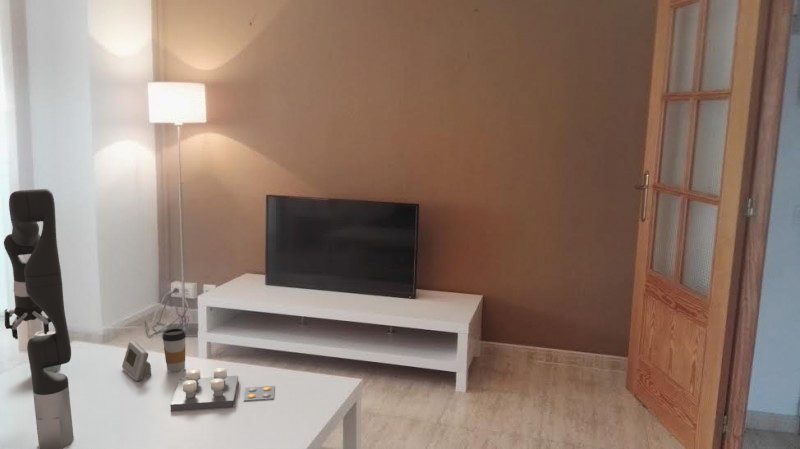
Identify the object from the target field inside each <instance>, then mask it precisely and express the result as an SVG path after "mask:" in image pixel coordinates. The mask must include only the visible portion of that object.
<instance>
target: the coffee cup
mask: <svg viewBox="0 0 800 449" xmlns="http://www.w3.org/2000/svg"><path fill="white" fill-rule="evenodd" d="M186 337H187V336H186V332H185V329H183V328H179V327H177V328H176V327H175V328H169V329H166V330H164V331H163V334H162V340H163V350H164V358H165V359H164V360H165V364H166V370H167V372H169V373H172V374H173V373H181V372H182V371H184V370H185V368H186Z"/></svg>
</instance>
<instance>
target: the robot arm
mask: <svg viewBox="0 0 800 449" xmlns="http://www.w3.org/2000/svg"><path fill="white" fill-rule="evenodd" d="M8 199H9V200H8V209H9V215H10V221H11V225H12V231H11V233H10V234H7V235H6V236H5V238H4V239H3V246H4V249H5V251H6V254H7V256H8V258H9V260H10V263H11V267H12V274H13V294H14V295H13V296H14V306H15V307H14V309H10V310H9V309H8V308H6V309H4V310H3V311H4V327H5V329H6V330H9V329H11V334H12V338H13V339H15V340H18V339H19V336H18V334H19V333H18V327H19V325H21V324H22V322H28V321H35V320H36V319H38V320H39V321H41V322H42V326H43V331H44V334H47V332H49V330H50V328H49V326H50V325H49V324H50V323H51V324H52V325H53V327H54V329H55V334H50V335H44V336H39V337H34V338H33V337H31V338H29V340H28V341H27V345H26V346H27V347H26V349H27V357H28V362H29V368H30V375H31V383H32V394H33V403H34V404H33V405H34V414H35V424H36V432H37V440H38V441H37V443H38V447H39V449H64V448H65V447H66V446H68V445H70V444H71V443H72V442H73V441H74V438H75V437H74V436H75V435H74V428H73V419H72V418H73V416H72V408H71V398H70V387H69V384H70V383H69V377H68V376H67V375H66V374H64V373H62V372H61V373H60V372H48V371H45V370H43V369H44V368H47V367H52V366H57V365H61V366H62V365H65V364H68V363H70V361H71V358H72V347H71V341H70V340H71V339H70V336H69V329H68V323H67V319H66V312H65V302H64V289H63V287H64V286H63V279H62V271H61V265H60V263H61V262H60V255H59V250H58V241H57V240H58V239H57V238H58V237H57V224H56V222H57V218H56V206H55V205H56V204H55V198H54V195H53V192H52V191H51V190H50V189H49V188H38V189H23V190H16V191H13V192H12V193H11V194H10V196H9V198H8ZM38 222H41V223H42V228H41V234H40V225H39V223H38ZM25 255H30V256H29V258H21V257H20V256H25ZM42 312H44V314H45V315H44V314H43V313H42ZM14 314H15V316H16V317H15V319H14V321H13V322H12V323H11V322H10V321H11V320H10V318H12V317H13V315H14Z"/></svg>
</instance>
